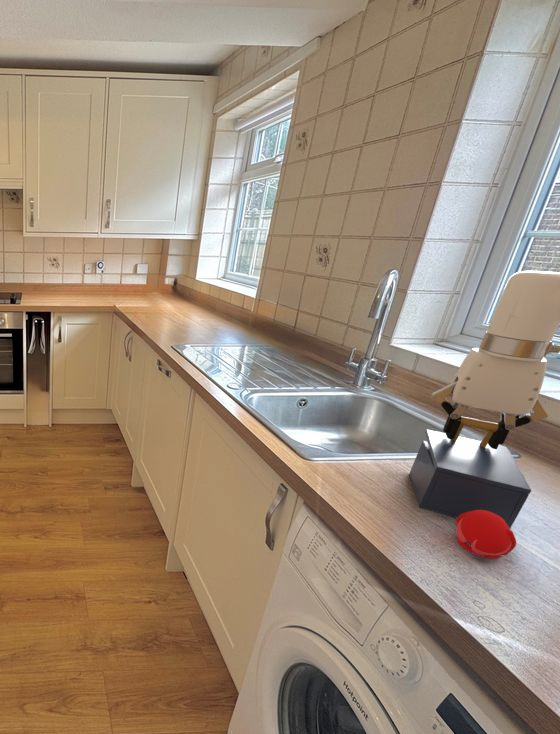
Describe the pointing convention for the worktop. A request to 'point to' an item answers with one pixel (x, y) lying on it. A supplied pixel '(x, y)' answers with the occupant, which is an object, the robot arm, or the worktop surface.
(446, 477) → the chest
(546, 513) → the worktop surface
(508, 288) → the robot arm
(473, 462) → the lid
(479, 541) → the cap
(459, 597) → the worktop surface
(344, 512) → the worktop surface
